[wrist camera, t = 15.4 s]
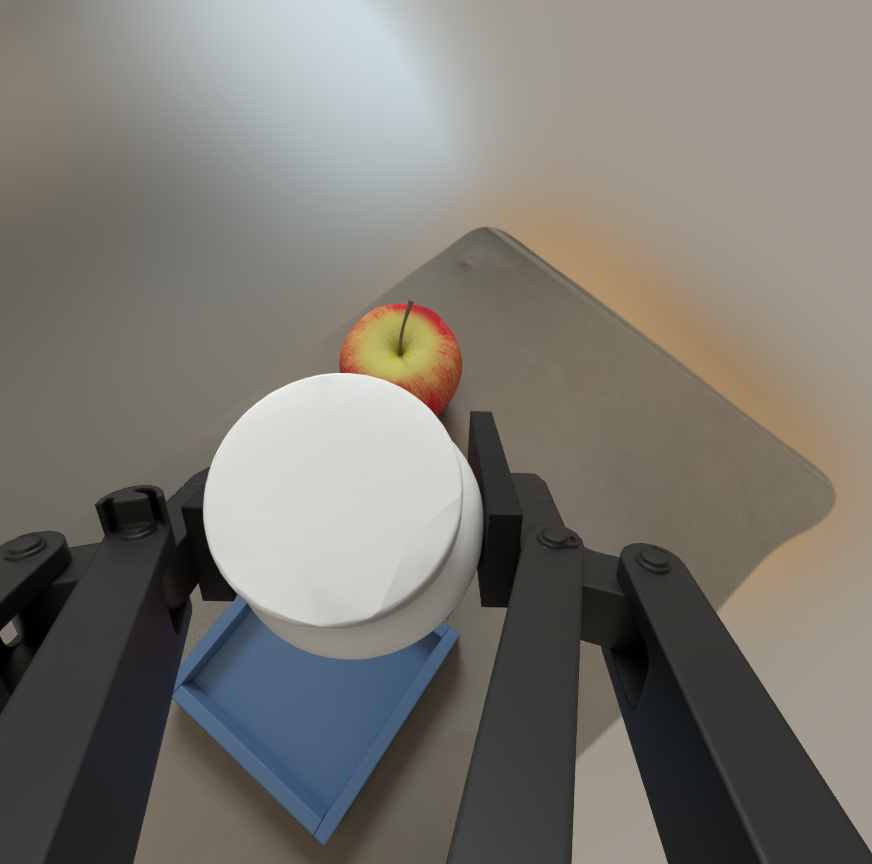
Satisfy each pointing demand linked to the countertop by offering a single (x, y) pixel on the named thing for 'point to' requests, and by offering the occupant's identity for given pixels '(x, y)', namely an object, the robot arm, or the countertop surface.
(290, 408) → the pill bottle
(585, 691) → the countertop surface
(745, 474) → the countertop surface
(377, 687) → the medicine tray
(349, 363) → the apple
